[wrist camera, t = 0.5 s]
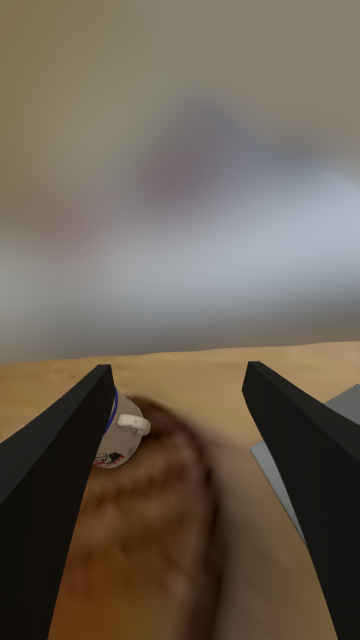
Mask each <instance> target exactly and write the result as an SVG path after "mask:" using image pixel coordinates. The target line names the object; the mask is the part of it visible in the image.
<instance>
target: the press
mask: <svg viewBox="0 0 360 640" xmlns="http://www.w3.org/2000/svg"><path fill="white" fill-rule="evenodd" d="M324 405H326V406H327V407H329V408H331V409H332V410H334V411H336V412H337V413H339V414H341V415H342V416H344V417H346V418H348V419H350V420H351V421H353V422H355V423H357V424H358V425H360V385H359V384H357V385H355V386H353V387H352V388H350V389H348V390H347V391H345V392H343V393H342V394H340V395H338V396H337V397H335V398H333V399H331V400H330V401H328V402H326V403H325V404H324ZM250 450H251V452H252V454H253V455H254V457H255V459H256V460H257V462H258V464H259V465H260V467H261V469H262V471H263V472H264V474H265V476H266V477H267V479H268V481H269V482H270V484H271V486H272V488H273V489H274V491H275V493H276V494H277V496H278V498H279V500H280V501H281V503H282V505H283V506H284V508H285V510H286V511H287V513H288V515H289V517H290V518H291V520H292V522H293V523H294V525H295V527H296V528H297V530H298V532H299V534H300V535H301V537H302V539H303V540H304V542H305V539H304V536H303V533H302V531H301V528H300V525H299V523H298V520H297V517H296V515H295V512H294V509H293V507H292V504H291V501H290V499H289V496H288V494H287V491H286V489H285V486H284V484H283V481H282V479H281V476H280V474H279V471H278V469H277V467H276V464H275V462H274V460H273V458H272V456H271V454H270V452H269V450H268V448H267V446H266V444H265V442H264V440H263V441H261V442H259V443H258V444H256V445H254V446H253V447H251V448H250ZM305 544H306V542H305ZM306 546H307V545H306Z"/></svg>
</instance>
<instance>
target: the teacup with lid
mask: <svg viewBox="0 0 360 640" xmlns="http://www.w3.org/2000/svg"><path fill="white" fill-rule="evenodd" d="M114 387H115V386H114ZM115 393H116V395H115V400H114V404H113V408H112V412H111V416H110V419H109V421H108V424H107V427H106V430H105V433H104V435H103V438H102V441H101V444H100V446H99V449H98V452H97V455H96V457H95V460H94V463H93V465H95V466H99V467H103V468H115V467H117V466H120V465H121V464H123V463H124V462H126V461H127V460H128V459H129V458H130V457H131V456H132V455H133V453H134V452H135V451H136V449H137V447H138V445H139V443H140V441H141V438H142V436H143V435H147V434H148V433H149V431H150V427H151V425H150V423H149V421H147V420H146V419H144V418H143V415H142V412H141V410H140V409H139V408H138V407H137V406H136V405H135V404H134V403H133V402H131V401H130V400H129V399H128V398H127V397H125V396H124V395H123V394H122V393H121V392H119V391H118V390H117V389H116V387H115Z"/></svg>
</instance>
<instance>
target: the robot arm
mask: <svg viewBox="0 0 360 640" xmlns="http://www.w3.org/2000/svg"><path fill="white" fill-rule="evenodd" d="M242 393H243V396H244V399H245V401H246V404H247V407H248V409H249V411H250V414H251V416H252V418H253V420H254V422H255V424H256V426H257V428H258V430H259V432H260V434H261V436H262V438H263V440H264V442H265V444H266V446H267V448H268V450H269V452H270V454H271V456H272V458H273V460H274V462H275V464H276V467H277V469H278V471H279V474H280V476H281V479H282V481H283V484H284V486H285V489H286V491H287V494H288V496H289V499H290V501H291V504H292V507H293V509H294V512H295V515H296V517H297V520H298V523H299V525H300V528H301V531H302V533H303V536H304V539H305V542H306V545H307V548H308V550H309V553H310V556H311V559H312V562H313V564H314V567H315V570H316V573H317V576H318V579H319V582H320V585H321V588H322V591H323V594H324V597H325V600H326V603H327V606H328V609H329V612H330V615H331V619H332V622H333V625H334V628H335V631H336V635H337V638H338V640H360V425H358V424H357V423H355V422H353V421H351V420H350V419H348V418H346V417H344V416H342V415H341V414H339V413H337V412H336V411H334V410H332V409H331V408H329V407H327V406H326V405H324V404H323V403H321V402H319V401H318V400H316V399H315V398H313V397H311V396H310V395H308V394H307V393H305V392H304V391H302V390H301V389H299V388H298V387H296V386H295V385H293V384H292V383H291V382H289V381H288V380H286V379H285V378H283V377H282V376H280V375H279V374H278V373H276V372H275V371H273V370H272V369H270V368H269V367H267V366H266V365H264V364H263V363H261V362H260V361H251V362H248V365H247V369H246V374H245V378H244V382H243V386H242ZM115 395H116V393H115V387H114V381H113V375H112V369H111V364H105V365H97V366H96V367H95V368H94V369H93V370H92V371H90V372H89V373H88V374H87V375H86V376H85V377H84V378H83V379H82V380H80V381H79V382H78V383H77V384H76V385H75V386H74V387H72V388H71V389H70V390H69V391H68V392H67V393H66V394H64V395H63V396H62V397H61V398H60V399H58V400H57V401H56V402H55V403H53V404H52V405H51V406H50V407H49V408H47V409H46V410H45V411H44V412H42V413H41V414H40V415H39V416H37V417H36V418H35V419H33V420H32V421H31V422H30V423H28V424H27V425H26V426H24V427H23V428H22V429H20V430H19V431H17V432H16V433H15V434H13V435H12V436H10V437H9V438H8V439H6V440H5V441H3V442H2V443H0V640H47V638H48V634H49V630H50V625H51V621H52V617H53V612H54V608H55V604H56V599H57V595H58V591H59V587H60V583H61V579H62V575H63V571H64V567H65V563H66V559H67V555H68V551H69V547H70V543H71V539H72V535H73V532H74V528H75V524H76V520H77V516H78V513H79V509H80V505H81V502H82V498H83V495H84V491H85V488H86V484H87V480H88V477H89V474H90V471H91V468H92V465H93V463H94V460H95V457H96V455H97V452H98V449H99V446H100V444H101V441H102V438H103V435H104V433H105V430H106V427H107V424H108V421H109V419H110V416H111V412H112V408H113V404H114V400H115Z"/></svg>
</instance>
